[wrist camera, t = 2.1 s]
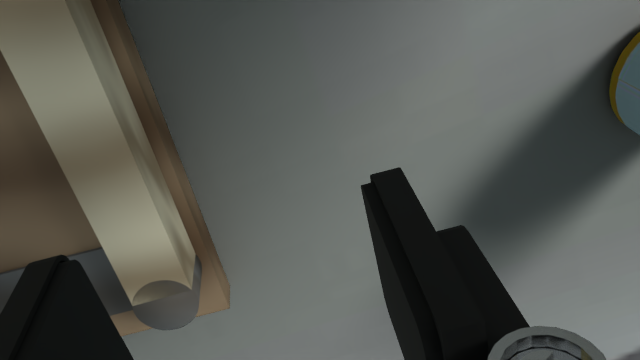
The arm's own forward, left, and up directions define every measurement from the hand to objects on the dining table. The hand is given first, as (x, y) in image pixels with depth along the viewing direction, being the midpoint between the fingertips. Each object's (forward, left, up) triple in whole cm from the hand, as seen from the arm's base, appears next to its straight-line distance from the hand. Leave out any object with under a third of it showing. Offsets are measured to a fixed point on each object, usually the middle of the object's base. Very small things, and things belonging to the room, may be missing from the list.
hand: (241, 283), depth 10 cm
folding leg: (+4, -7, -17) cm, 19 cm away
